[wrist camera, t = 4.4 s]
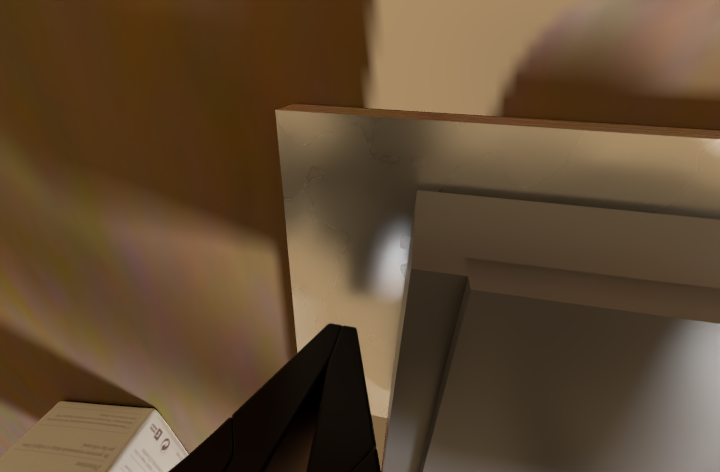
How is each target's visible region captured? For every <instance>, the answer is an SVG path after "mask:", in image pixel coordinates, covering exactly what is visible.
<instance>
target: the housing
mask: <svg viewBox="0 0 720 472" xmlns="http://www.w3.org/2000/svg"><path fill="white" fill-rule="evenodd" d="M381 472H720V220H719V219H708V218H698V217H688V216H677V215H667V214H657V213H647V212H636V211H626V210H616V209H606V208H595V207H585V206H575V205H565V204H554V203H544V202H534V201H523V200H513V199H503V198H493V197H482V196H472V195H462V194H452V193H441V192H431V191H421V190H417V192H416V199H415V207H414V215H413V222H412V230H411V238H410V245H409V253H408V261H407V268H406V276H405V283H404V291H403V299H402V306H401V314H400V322H399V329H398V337H397V344H396V352H395V360H394V367H393V375H392V383H391V390H390V398H389V406H388V416H387V426H386V434H385V444H384V452H383V462H382V471H381Z"/></svg>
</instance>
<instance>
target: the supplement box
mask: <svg viewBox="0 0 720 472" xmlns="http://www.w3.org/2000/svg"><path fill="white" fill-rule="evenodd" d="M188 455H189V454H188V452H187V451H186V450H185V448H184V447H183V445H182V444H181V442H180V441H179V439H178V438H177V437H176V435H175V434H174V432H173V431H172V430H171V428H170V427H169V426H168V424H167V423H166V421H165V420H164V419H163V417H162V416H161V415H160V413H159V412H158V411H157V410H156V409H153V408H137V407H125V406H112V405H100V404H89V403H78V402H66V401H60V402H58V403H57V404H56V405H55V406H54V407H53V408H52V409H51V410H50V411H49V412H48V413H47V414H46V415H45V416H44V417H42V418H41V419H40V420H39V421H38V422H37V423H36V424H35V425H34V426H33V427H32V428H31V429H30V430H29V431H27V432H26V433H25V434H24V435H23V436H22V437H21V438H20V439H19V440H18V441H17V442H16V443H15V444H14V445H13V446H12V447H11V448H10V449H8V450H7V451H6V452H5V453H4V454H3V455H2V456H1V457H0V472H168V471H170V470H171V469H172V468H173V467H174V466H176V465H177V464H178V463H179V462H180V461H182V460H183V459H184V458H185V457H186V456H188Z"/></svg>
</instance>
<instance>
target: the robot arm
mask: <svg viewBox="0 0 720 472" xmlns="http://www.w3.org/2000/svg"><path fill="white" fill-rule="evenodd" d="M375 442H376V441H375V436H374V429H373V423H372V417H371V411H370V405H369V399H368V393H367V387H366V381H365V375H364V369H363V363H362V357H361V351H360V344H359V338H358V332H357V328H356V327H351V326H345V325H344V326H342V325H339V324H332V323H329V324H327V325H326V326H325V327H324V328H323V329H322V330H321V331H320V332H319V333H318V334H317V335H316V336H315V337H314V338H313V339H312V340H311V341H309V342H308V343H307V344H306V345H305V346H304V347H303V348H302V349H301V350H300V351H299V352H298V353H297V354H296V355H295V356H294V357H293V358H292V359H291V360H290V361H288V362H287V363H286V364H285V365H284V366H283V367H282V368H281V369H280V370H279V371H278V372H277V373H276V374H275V375H274V376H273V377H272V378H271V379H270V380H268V381H267V382H266V383H265V384H264V385H263V386H262V387H261V388H260V389H259V390H258V391H257V392H256V393H255V394H254V395H253V396H252V397H251V398H250V399H249V400H247V401H246V402H245V403H244V404H243V405H242V406H241V407H240V408H239V409H238V410H237V411H236V412H235V413H234V414H233V415H232V418H231V417H230V418H228V419H227V420H226V421H225V422H224V423H223V424H222V425H221V426H220V427H219V428H218V429H217V430H216V431H215V432H214V433H212V434H211V435H210V436H209V437H208V438H207V439H206V440H205V441H204V442H203V443H201V444H200V445H199V446H198V447H197V448H196V449H195V450H194V451H192V452H191V453H190V454H189V455H188V456H186V457H185V458H184V459H183V460H182V461H180V462H179V463H178V464H177V465H176V466H174V467H173V468H172V469H171V470H170V471H168V472H381V471H380V465H379V459H378V453H377V449H376V443H375Z"/></svg>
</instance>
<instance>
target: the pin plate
mask: <svg viewBox="0 0 720 472" xmlns="http://www.w3.org/2000/svg"><path fill="white" fill-rule="evenodd" d="M275 113H276V123H277V134H278V145H279V156H280V167H281V178H282V189H283V200H284V211H285V222H286V233H287V244H288V255H289V266H290V277H291V288H292V299H293V310H294V321H295V332H296V342H297V353H298V352H299V351H300V350H301V349H302V348H303V347H304V346H305V345H306V344H307V343H308V342H309V341H311V340H312V339H313V338H314V337H315V336H316V335H317V334H318V333H319V332H320V331H321V330H322V329H323V328H324V327H325V326H326V325H327V324H329V323H332V324H339V325H342V326H344V325H345V326H351V327H356V328H357V332H358V338H359V344H360V351H361V357H362V363H363V369H364V375H365V381H366V387H367V393H368V399H369V405H370V411H371V415H375V416H379V417H384V418H387V416H388V406H389V398H390V390H391V383H392V375H393V367H394V360H395V352H396V344H397V337H398V329H399V322H400V314H401V306H402V299H403V291H404V283H405V276H406V268H407V261H408V253H409V245H410V238H411V230H412V222H413V215H414V207H415V199H416V192H417V190H421V191H431V192H441V193H452V194H462V195H472V196H482V197H493V198H503V199H513V200H523V201H534V202H544V203H554V204H565V205H575V206H585V207H595V208H606V209H616V210H626V211H636V212H647V213H657V214H667V215H677V216H688V217H698V218H708V219H719V220H720V130H704V129H688V128H672V127H656V126H640V125H624V124H608V123H592V122H576V121H561V120H545V119H529V118H513V117H497V116H481V115H480V116H479V115H465V114H448V113H432V112H417V111H416V112H415V111H401V110H384V109H369V108H353V107H337V106H321V105H305V104H292V105H289V106H286V107H283V108H280V109H277V110H275Z"/></svg>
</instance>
